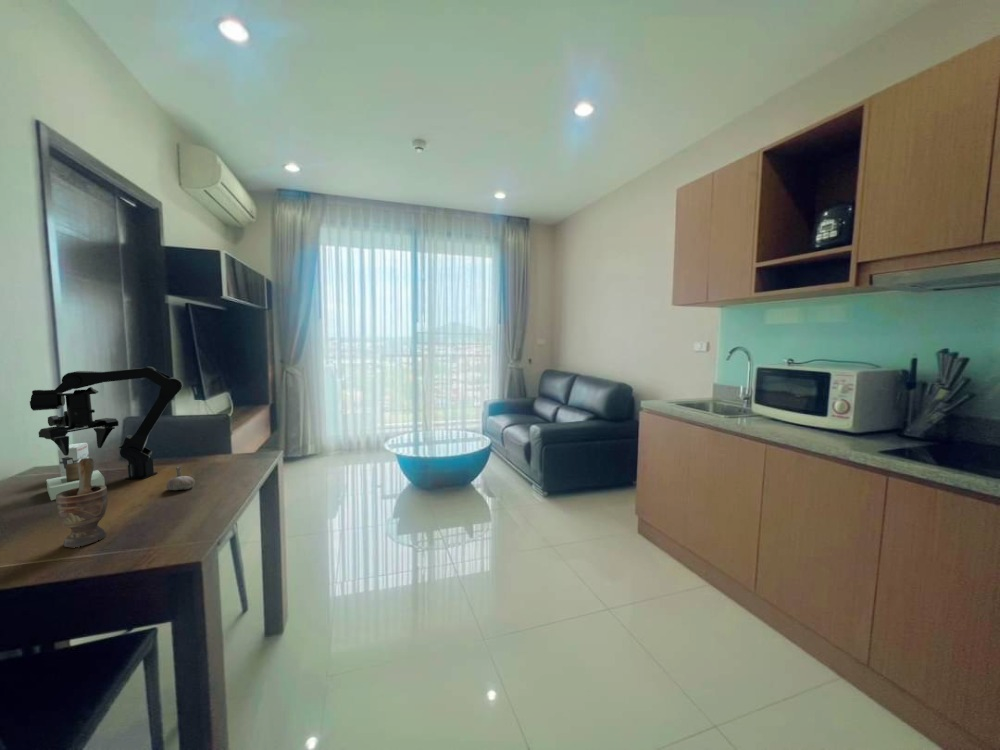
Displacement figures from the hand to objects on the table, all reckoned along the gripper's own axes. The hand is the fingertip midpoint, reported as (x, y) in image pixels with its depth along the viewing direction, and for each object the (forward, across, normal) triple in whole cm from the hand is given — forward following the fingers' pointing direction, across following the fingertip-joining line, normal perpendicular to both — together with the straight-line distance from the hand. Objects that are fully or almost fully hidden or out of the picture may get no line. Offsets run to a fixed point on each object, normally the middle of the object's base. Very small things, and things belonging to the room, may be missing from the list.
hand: (83, 451), depth 132 cm
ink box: (+12, -5, -14) cm, 19 cm away
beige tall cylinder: (+12, +4, +3) cm, 13 cm away
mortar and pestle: (+12, +28, +45) cm, 54 cm away
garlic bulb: (+12, -4, +36) cm, 38 cm away
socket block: (+12, +4, +3) cm, 13 cm away
